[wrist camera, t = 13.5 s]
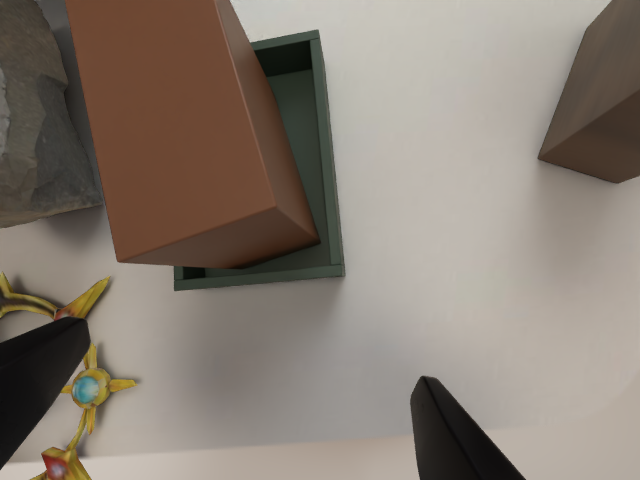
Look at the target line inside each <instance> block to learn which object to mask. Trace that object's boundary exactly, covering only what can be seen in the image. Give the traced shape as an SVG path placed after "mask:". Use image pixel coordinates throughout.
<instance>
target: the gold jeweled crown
mask: <svg viewBox="0 0 640 480" xmlns="http://www.w3.org/2000/svg"><path fill="white" fill-rule="evenodd" d="M109 278H110V276H109V277H107V278H105V279H103V280H101V281H99V282H97V283H96V284H95V285H94V286H93V287H91V288H90V289H89V290H88V291H87V292H85V293H84V294H83V295H81V296H80V297H78V298H77V299H76V300H74V301H73V302H71V303H70V304H69V305H67V306H66V307H65V308H63V309H58V308H57V307H56V306H55V305H53V304H52V303H50V302H47V301H45V300H43V299H41V298H39V297H34V296H29V295H24V294H19V293H15V292H14V291H13V289H12V287H11V285H10V284H9V282H8V280H7V278H6V276H5V275H4V273H3V271H2V273H1V274H0V318H1V317H2V316H3V315H4V314H6V313H7V312H8V311H13V310H21V309H23V310H27V311H32V312H36V313H40V314H44V315H48V316H50V317H51V318H52V319H54V321H56V320H58V319H61V318H63V317H66V316H73V317H79V318H85V316H86V315H87V313H88V312H89V310H90V309H91V307H92V306H93V304H94V303H95V301H96V300H97V298H98V297H99V295H100V294H101V293H102V291H103V290H104V288H105V286H106V284H107V282H108V280H109ZM83 360H84V364H85V368H86V370H85V371H82V372H80V373H79V374H78V376H77V377H76V378H75V379H74V381H73V384H72V385H68V386H64V388H63V389H62V391H61V392H60V393H69V394H72V398H73V401H74V402H75V403H76V404H77V405H78V406H79V407H81V408H85V409H84V412H83V415H82V418H81V421H80V424H79V427H78V430H77V433H76V435H75V437H74V438H73V440H72V441H71V443H70V444H69V446H68V447H67V449H66V450H65V451H63V450H60V449H57V448H54V447H52V448H49V449H47V450H46V451H44V452H43V453H41V455H42V457H43V460H44V463H45V465H46V468H47V470H46V471H45V472H44V473H42V474H40V475H38V476H36V477H34V478H32V479H30V480H91V478H90V477H89V475H88V473H87V472H86V470H85V469H84V467H83V465H82V464H81V462H80V461H79V459H78V456H77V452H76V448H75V447H76V446H77V444H78V442H79V440H80V437H81V435H82V433H83V430H84V428H85V425H86V422H87V431H88V433H89V435H90V434H91V433H92V431H93V429H94V422H95V412H96V407H95V406H98V405H100V404H102V403H103V402H104V401H105V400H106V398H107V397H108V396H109V394H110V391H111V392H115V391H119V390H122V389H126V388H129V387H133V386H136V385H137V384H136V383H135V382H134V380H120V379H112V380H111V379H110V375H109V374H108V373H107V372H106V371H105V370H104V369H101V368H97V361H96V347H95V346H94V344H93V343H92V344H91V346H90V348H89V354H88V352H87V353H86V355H85V356H84V358H83Z"/></svg>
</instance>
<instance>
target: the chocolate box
mask: <svg viewBox="0 0 640 480" xmlns="http://www.w3.org/2000/svg"><path fill="white" fill-rule="evenodd" d="M65 4H66V9H67V14H68V19H69V24H70V29H71V34H72V39H73V44H74V49H75V54H76V59H77V64H78V69H79V74H80V79H81V84H82V89H83V94H84V99H85V104H86V109H87V114H88V119H89V124H90V129H91V134H92V139H93V144H94V149H95V154H96V159H97V164H98V169H99V174H100V179H101V184H102V189H103V194H104V199H105V204H106V209H107V214H108V219H109V224H110V229H111V234H112V239H113V244H114V249H115V254H116V259H117V261H118V262H119V263H135V264H152V265H169V266H187V267H204V268H221V269H238V270H243V269H246V268H249V267H252V266H255V265H258V264H261V263H264V262H267V261H270V260H273V259H276V258H279V257H282V256H285V255H288V254H291V253H294V252H297V251H300V250H303V249H306V248H309V247H312V246H315V245H318V244H320V243H321V240H320V237H319V234H318V231H317V228H316V225H315V222H314V218H313V215H312V212H311V209H310V206H309V203H308V199H307V196H306V193H305V190H304V187H303V184H302V180H301V177H300V174H299V171H298V168H297V165H296V161H295V158H294V155H293V152H292V149H291V146H290V143H289V139H288V136H287V133H286V130H285V127H284V124H283V120H282V117H281V114H280V111H279V108H278V105H277V101H276V98H275V95H274V92H273V90H272V88H271V86H270V84H269V82H268V80H267V78H266V75H265V73H264V71H263V69H262V67H261V65H260V63H259V61H258V59H257V57H256V55H255V52H254V50H253V48H252V46H251V44H250V42H249V40H248V38H247V36H246V34H245V32H244V29H243V27H242V25H241V23H240V21H239V19H238V17H237V15H236V13H235V11H234V9H233V6H232V4H231V2H230V0H65Z"/></svg>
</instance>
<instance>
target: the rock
mask: <svg viewBox="0 0 640 480" xmlns="http://www.w3.org/2000/svg"><path fill="white" fill-rule="evenodd" d="M67 86H68V79H67V76H66V74H65V71H64V67H63V63H62V59H61V53H60V49H59V48H58V46H57V43H56V39H55V37H54V35H53V34H52V32H51V30H50V27H49V24H48V22H47V21H46V19H45V18H44V16H43V13H42V10H41V8H40V7H39V6H38V4H37V3H36V2H35V1H34V0H0V228H7V227H11V226H15V225H19V224H25V223H29V222H32V221H35V220H38V219H43V218H48V217H50V216H52V215H55V214H58V213H62V212H67V211H71V210H77V209H84V208H90V207H94V206H97V205H101V204H103V200H102V198H101V196H100V194H99V192H98V191H97V189H96V188H95V185H94V181H93V172H92V168H91V165H90V162H89V160H88V157H87V155H86V153H85V151H84V149H83V146H82V144H81V143H80V141H79V137H78V134H77V132H76V130H75V129H74V127H73V126H72V124H71V120H70V116H69V114H68V111H67V107H66V103H65V99H64V91H65V89H66V87H67Z"/></svg>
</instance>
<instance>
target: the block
mask: <svg viewBox="0 0 640 480" xmlns="http://www.w3.org/2000/svg"><path fill="white" fill-rule="evenodd" d="M538 159H540V160H544V161H547V162H550V163H553V164H557V165H560V166H563V167H566V168H569V169H573V170H576V171H579V172H582V173H585V174H589V175H592V176H595V177H598V178H601V179H605V180H608V181H611V182H614V183H621V182H624V181H626V180H629V179H632V178H635V177H637V176H640V0H612V1H611V2H610V3H609V4H608V5H607V6H606V8H605V9H604V10H603V11H602V12H601V13H600V14H599V15H598V16H597V18H596V19H595V20H594V21H593V22H592V23H591V24H590V25H589V26H588V27H587V29H586V32H585V35H584V37H583V40H582V43H581V45H580V48H579V51H578V53H577V56H576V58H575V61H574V64H573V66H572V69H571V72H570V74H569V77H568V80H567V82H566V85H565V88H564V90H563V93H562V96H561V98H560V101H559V103H558V106H557V109H556V111H555V114H554V117H553V119H552V122H551V125H550V127H549V130H548V133H547V135H546V138H545V140H544V143H543V146H542V148H541V151H540V154H539V156H538Z"/></svg>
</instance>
